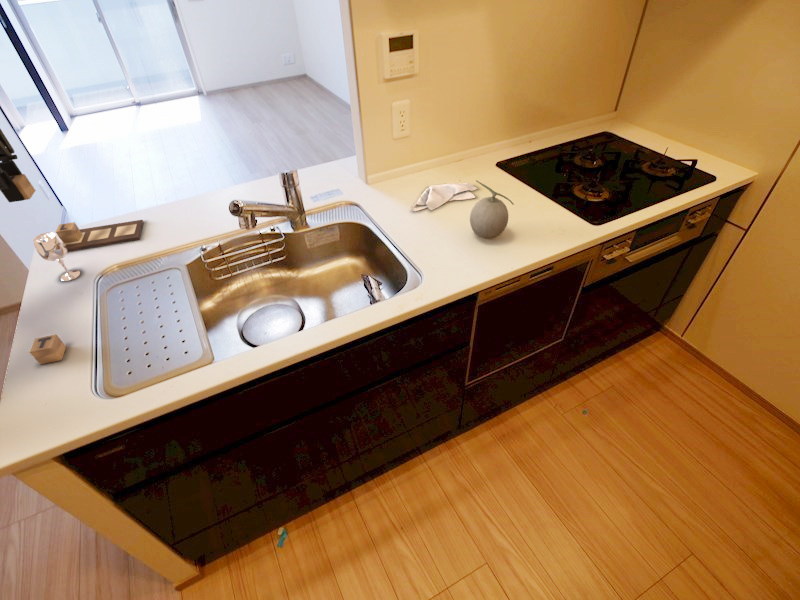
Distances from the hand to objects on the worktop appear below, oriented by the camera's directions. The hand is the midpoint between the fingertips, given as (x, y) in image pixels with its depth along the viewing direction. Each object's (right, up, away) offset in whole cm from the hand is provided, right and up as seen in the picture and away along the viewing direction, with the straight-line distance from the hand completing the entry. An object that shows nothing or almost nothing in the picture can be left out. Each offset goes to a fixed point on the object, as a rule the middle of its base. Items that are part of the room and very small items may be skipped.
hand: (20, 195), depth 92 cm
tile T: (+8, -35, -1) cm, 36 cm away
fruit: (+108, -4, +31) cm, 113 cm away
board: (-5, -4, +33) cm, 33 cm away
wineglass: (-4, -17, +20) cm, 26 cm away
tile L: (-12, -5, +30) cm, 33 cm away
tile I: (0, 0, 0) cm, 0 cm away
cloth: (+97, +12, +49) cm, 109 cm away
